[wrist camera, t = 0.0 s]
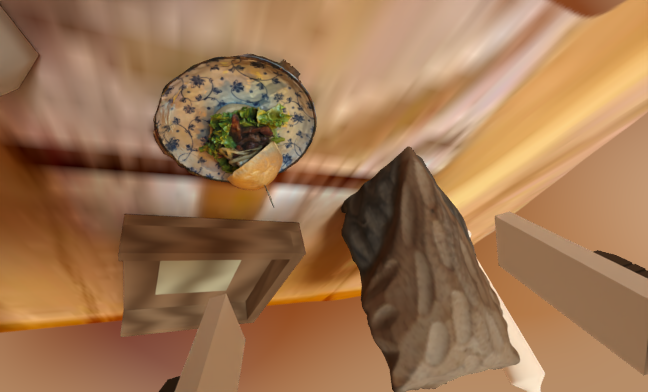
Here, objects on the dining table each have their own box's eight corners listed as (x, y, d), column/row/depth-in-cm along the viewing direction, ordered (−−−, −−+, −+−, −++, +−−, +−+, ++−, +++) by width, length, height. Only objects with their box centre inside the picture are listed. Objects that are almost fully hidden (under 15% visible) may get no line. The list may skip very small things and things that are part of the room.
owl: (447, 191, 41) (548, 354, 29) (366, 235, 45) (426, 393, 33) (413, 142, 31) (543, 353, 20) (316, 204, 36) (375, 407, 24)
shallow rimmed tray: (124, 306, 44) (120, 337, 41) (124, 214, 29) (118, 253, 27) (250, 297, 52) (253, 322, 50) (298, 222, 38) (305, 253, 35)
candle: (437, 232, 50) (536, 415, 36) (475, 224, 52) (587, 397, 37) (424, 252, 56) (506, 417, 41) (459, 244, 57) (550, 402, 42)
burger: (295, 21, 20) (324, 87, 15) (323, 148, 29) (345, 212, 25) (113, 72, 20) (89, 154, 15) (200, 184, 29) (201, 254, 25)
